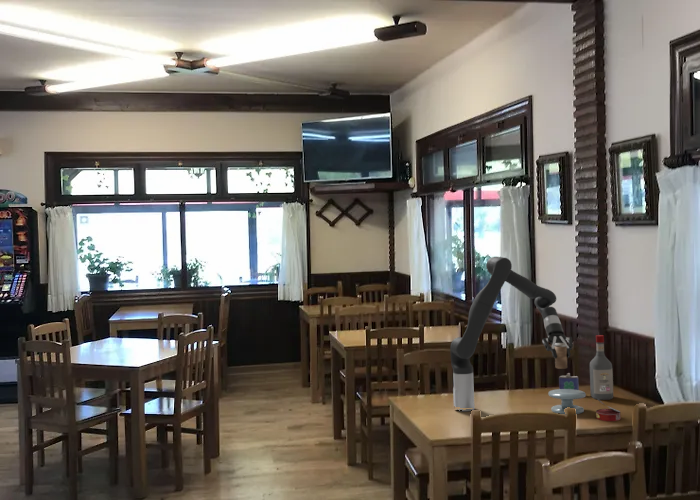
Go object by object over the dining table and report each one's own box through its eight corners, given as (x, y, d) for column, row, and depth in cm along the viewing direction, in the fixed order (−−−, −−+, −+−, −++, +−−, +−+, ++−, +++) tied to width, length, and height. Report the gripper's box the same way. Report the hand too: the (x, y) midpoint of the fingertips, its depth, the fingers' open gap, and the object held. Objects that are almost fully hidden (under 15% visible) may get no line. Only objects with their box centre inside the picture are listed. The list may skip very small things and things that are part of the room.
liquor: (614, 399, 332) (612, 336, 331) (595, 400, 332) (593, 337, 331) (608, 395, 341) (606, 333, 340) (589, 395, 341) (587, 334, 340)
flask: (578, 393, 346) (577, 372, 345) (579, 395, 343) (578, 373, 343) (559, 393, 348) (558, 372, 347) (559, 395, 345) (558, 373, 345)
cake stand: (554, 415, 308) (554, 397, 307) (545, 406, 324) (544, 389, 323) (591, 414, 307) (590, 396, 307) (579, 405, 323) (578, 388, 323)
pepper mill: (557, 369, 315) (556, 344, 315) (553, 366, 321) (553, 343, 320) (568, 368, 316) (568, 344, 315) (565, 366, 321) (564, 342, 320)
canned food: (600, 426, 305) (601, 403, 309) (624, 426, 299) (624, 403, 303) (590, 419, 298) (591, 396, 302) (614, 419, 291) (615, 396, 295)
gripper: (539, 323, 325) (548, 353, 313) (570, 321, 325) (579, 351, 313) (536, 332, 330) (545, 362, 319) (566, 331, 331) (576, 361, 319)
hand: (562, 356), depth 316 cm, fingers closed on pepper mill, 5 cm apart
